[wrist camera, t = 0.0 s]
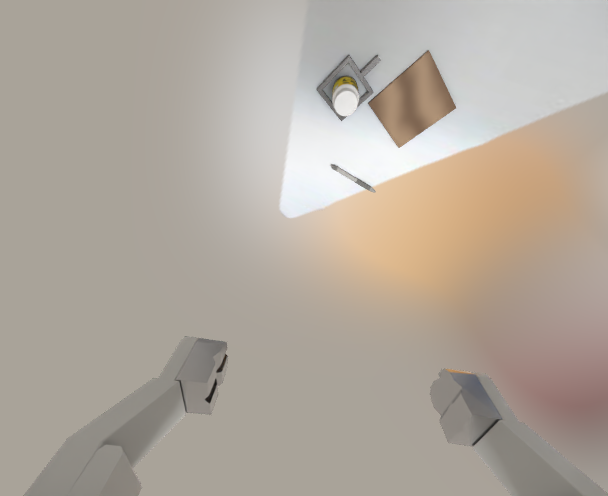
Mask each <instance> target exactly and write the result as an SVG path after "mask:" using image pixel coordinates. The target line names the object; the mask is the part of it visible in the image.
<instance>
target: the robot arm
mask: <svg viewBox="0 0 608 496" xmlns="http://www.w3.org/2000/svg"><path fill="white" fill-rule="evenodd" d="M226 350H227V342H223V341H216V340H209V339H203V338H196V337H188V336H185V337H184V338H183V339H182V340H181V341H180V343H179V345H178V346H177V348H176V349H175V351H174V353H173V354H172V356H171V358H170V359H169V361H168V363H167V364H166V366H165V368H164V369H163V371H162V373H161V374H160V376H159V378H153V379H151V380H150V381H149V382H147V383H146V384H144V385H143V386H142V387H140V388H139V389H137V390H136V391H134V392H133V393H131V394H130V395H129V396H127V397H126V398H124V399H123V400H121V401H120V402H119V403H117V404H116V405H114V406H113V407H112V408H110V409H109V410H107V411H106V412H104V413H103V414H101V415H100V416H99V417H97V418H96V419H94V420H93V421H91V422H90V423H89V424H87V425H86V426H84V427H83V428H81V429H80V430H79V431H77V432H76V433H74V434H73V435H72V436H70V437H69V438H68V439H67V440H66V441H65V442H64V444H63V445H62V446H61V448H60V449H59V450H58V451H57V453H56V454H55V455H54V457H53V458H52V459H51V460H50V462H49V463H48V464H47V466H46V467H45V468H44V470H43V471H42V472H41V473H40V475H39V476H38V477H37V479H36V480H35V481H34V483H33V484H32V485H31V487H30V488H29V489H28V490H27V492H26V493H25V494H24V495H23V496H138V495H139V493H140V490H141V483H140V481H139V479H138V477H137V475H136V473H135V471H134V470H133V468H134V467H135V466H136V465H137V464H138V463H139V462H140V461H141V460H142V459H143V457H145V456H146V455H147V454H148V453H149V452H150V450H151V449H152V448H153V447H154V446H155V445H156V444H157V443H158V442H159V441H160V440H161V439H162V438H163V437H164V436H165V435H166V434H167V433H168V432H169V431H170V430H171V429H172V428H173V427H174V426H175V425H176V424H177V423H178V422H179V421H180V420H181V419H182V418H183V417H184V416H185V415H186V413H198V414H209V415H210V414H212V411H213V408H214V405H215V402H216V400H217V397H218V386H219V385H220V384H221V383H222V382H223V380H224V377H225V373H226V369H227V363H228V356H227V355H226V354H225V353H226ZM439 377H440V378H439V379H437V380H436V381H434V382H433V384H432V386H431V392H430V395H431V400H432V403H433V406H434V408H435V409H436V410H437V411H438V412H439V413H440V415H441V418H440V424H441V426H442V429H443V431H444V433H445V436H446V438H447V441H448V443H453V444H459V445H467V446H473V449H474V451H475V452H476V453H477V454H478V456H479V457H480V458H481V459H482V460H483V462H484V463H485V464H486V465H487V466H488V468H489V469H490V470H491V471H492V472H493V474H494V475H495V476H496V477H497V478H498V480H499V481H500V482H501V483H502V485H503V486H504V487H505V488H506V489H507V491H508V492H509V493H510V494H511V495H512V496H608V493H607V492H606V491H604V490H603V489H602V488H601V487H600V486H598V485H597V484H596V483H595V482H594V481H593V480H591V479H590V478H589V477H588V476H587V475H585V474H584V473H583V472H582V471H581V470H579V469H578V468H577V467H576V466H575V465H574V464H572V463H571V462H570V461H569V460H568V459H566V458H565V457H564V456H563V455H562V454H560V453H559V452H558V451H557V450H556V449H554V448H553V447H552V446H551V445H550V444H549V443H547V442H546V441H545V440H544V439H542V438H541V437H540V436H539V435H538V434H536V433H535V432H534V431H533V430H532V429H531V428H529V427H528V426H527V425H526V424H525V423H522V422H519V421H518V419H517V418H516V416H515V415H514V413H513V412H512V410H511V409H510V407H509V405H508V404H507V402H506V401H505V399H504V398H503V397H502V395H501V393H500V392H499V390H498V389H497V387H496V386H495V384H494V383H493V381H492V380H491V378H490V377H489V376H488V375H487V374H484V373H476V372H470V371H463V370H452V369H443V370H441V371H440V372H439Z"/></svg>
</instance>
